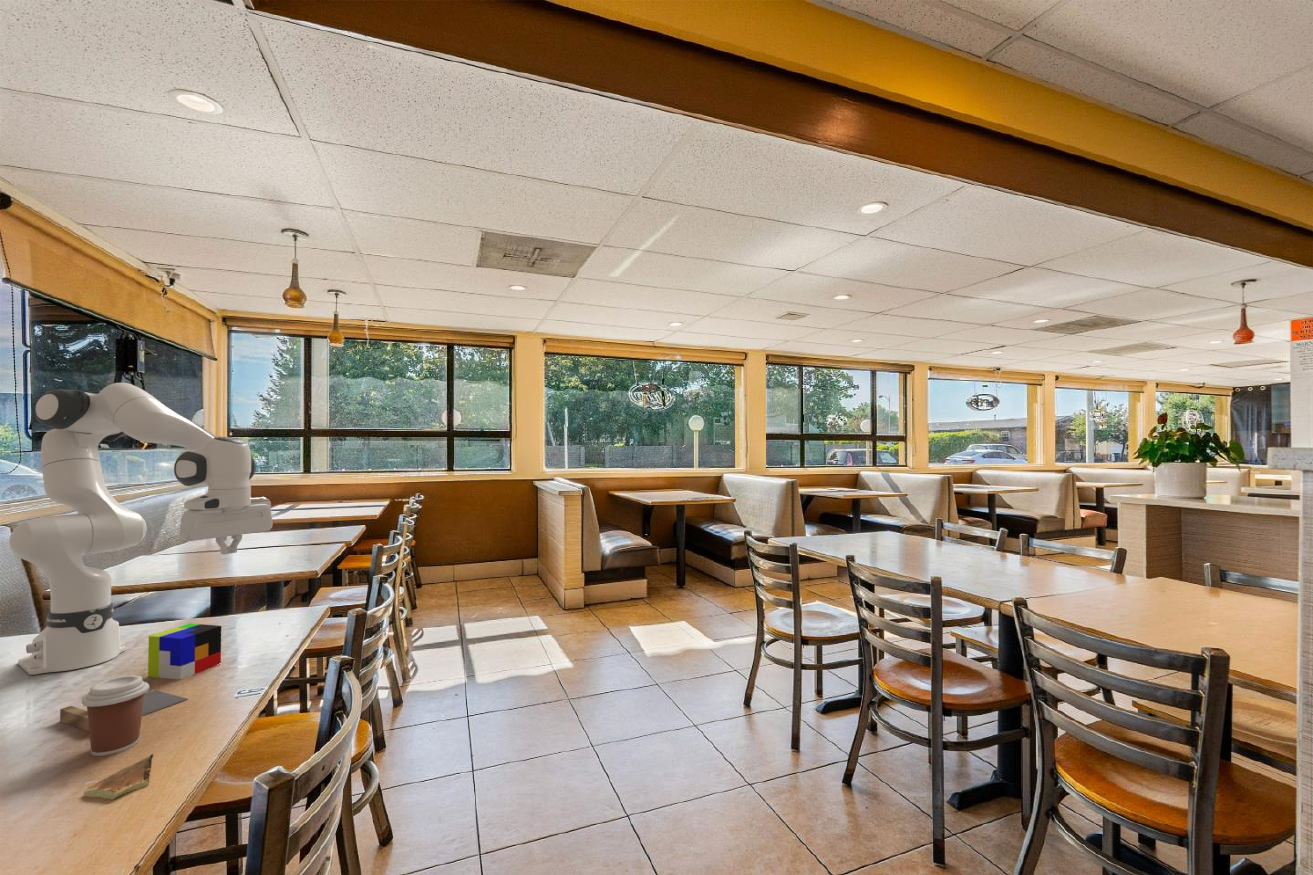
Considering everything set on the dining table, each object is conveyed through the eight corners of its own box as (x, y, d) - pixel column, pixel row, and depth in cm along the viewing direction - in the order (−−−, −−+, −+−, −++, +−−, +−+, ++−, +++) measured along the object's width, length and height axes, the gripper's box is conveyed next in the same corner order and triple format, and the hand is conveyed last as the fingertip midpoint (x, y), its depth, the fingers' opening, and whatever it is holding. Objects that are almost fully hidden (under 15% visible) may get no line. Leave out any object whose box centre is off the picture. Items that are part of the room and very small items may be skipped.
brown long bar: (60, 721, 113) (60, 709, 113) (70, 717, 115) (70, 705, 115) (97, 734, 108) (97, 721, 108) (108, 730, 110) (108, 717, 110)
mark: (87, 713, 117) (87, 712, 117) (156, 690, 128) (156, 689, 128) (119, 724, 112) (119, 723, 112) (187, 699, 123) (187, 698, 123)
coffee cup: (149, 729, 110) (150, 668, 110) (147, 747, 103) (148, 683, 104) (83, 745, 104) (84, 681, 104) (77, 766, 97) (78, 697, 98)
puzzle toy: (180, 680, 134) (181, 638, 134) (148, 676, 136) (148, 635, 136) (220, 664, 144) (221, 625, 144) (189, 661, 146) (190, 623, 146)
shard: (152, 761, 100) (152, 751, 100) (188, 765, 98) (188, 755, 98) (81, 799, 89) (81, 788, 89) (120, 804, 88) (120, 792, 88)
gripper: (263, 496, 153) (262, 546, 153) (176, 502, 134) (175, 559, 134) (278, 496, 151) (277, 547, 151) (192, 503, 132) (191, 561, 132)
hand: (228, 553), depth 142 cm, fingers closed
